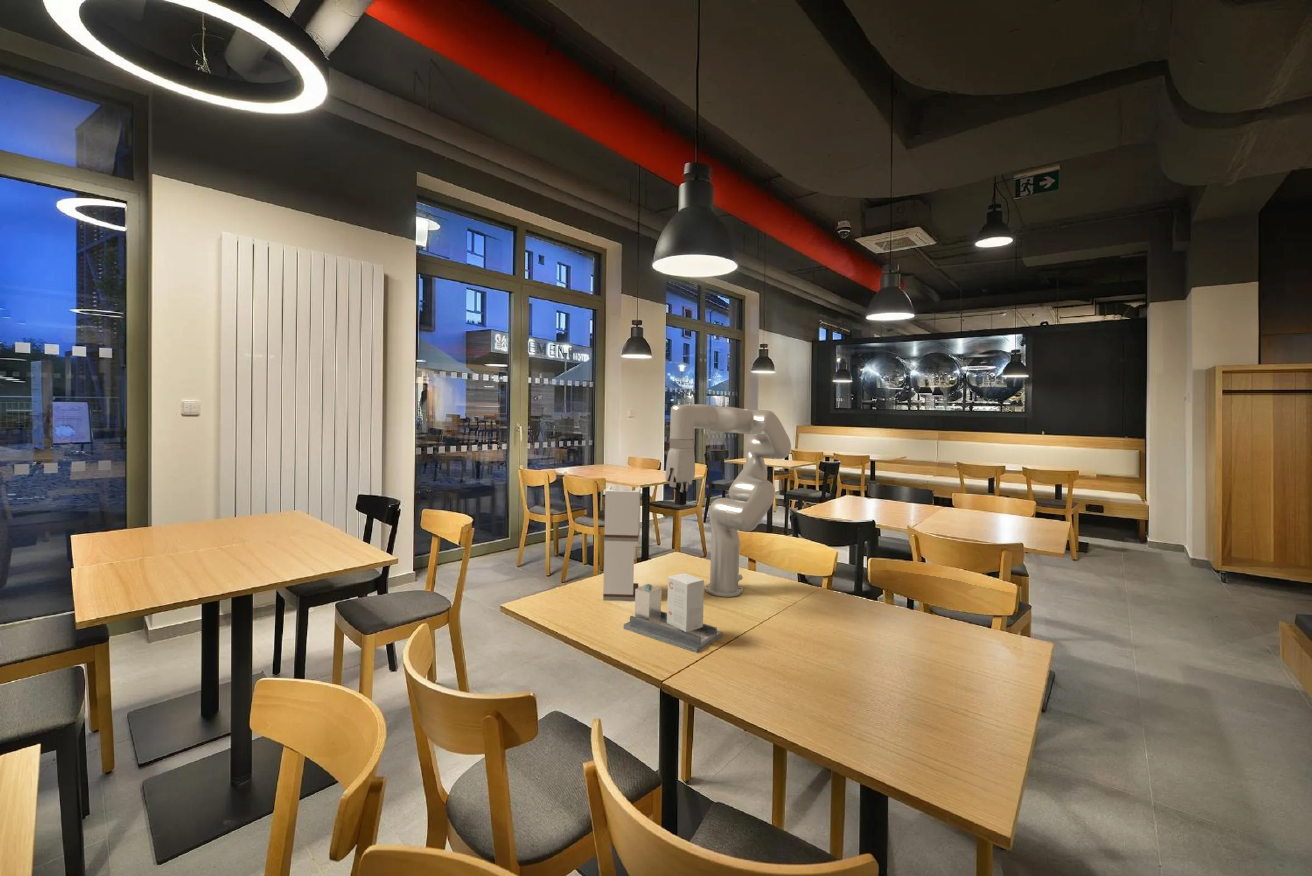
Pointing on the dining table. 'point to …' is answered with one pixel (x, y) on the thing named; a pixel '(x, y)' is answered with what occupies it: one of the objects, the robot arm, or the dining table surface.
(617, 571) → the tall banded cabinet
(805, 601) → the dining table surface
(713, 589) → the robot arm
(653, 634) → the rail board
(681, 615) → the small box
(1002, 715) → the dining table surface
